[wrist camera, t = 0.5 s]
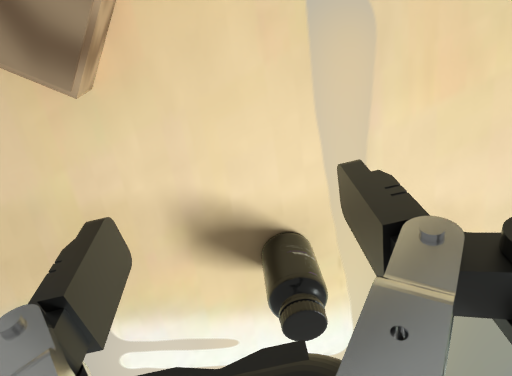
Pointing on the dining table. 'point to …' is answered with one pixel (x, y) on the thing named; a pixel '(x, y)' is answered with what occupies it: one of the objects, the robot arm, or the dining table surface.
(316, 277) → the supplement bottle
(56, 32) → the wooden box
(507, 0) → the dining table surface
